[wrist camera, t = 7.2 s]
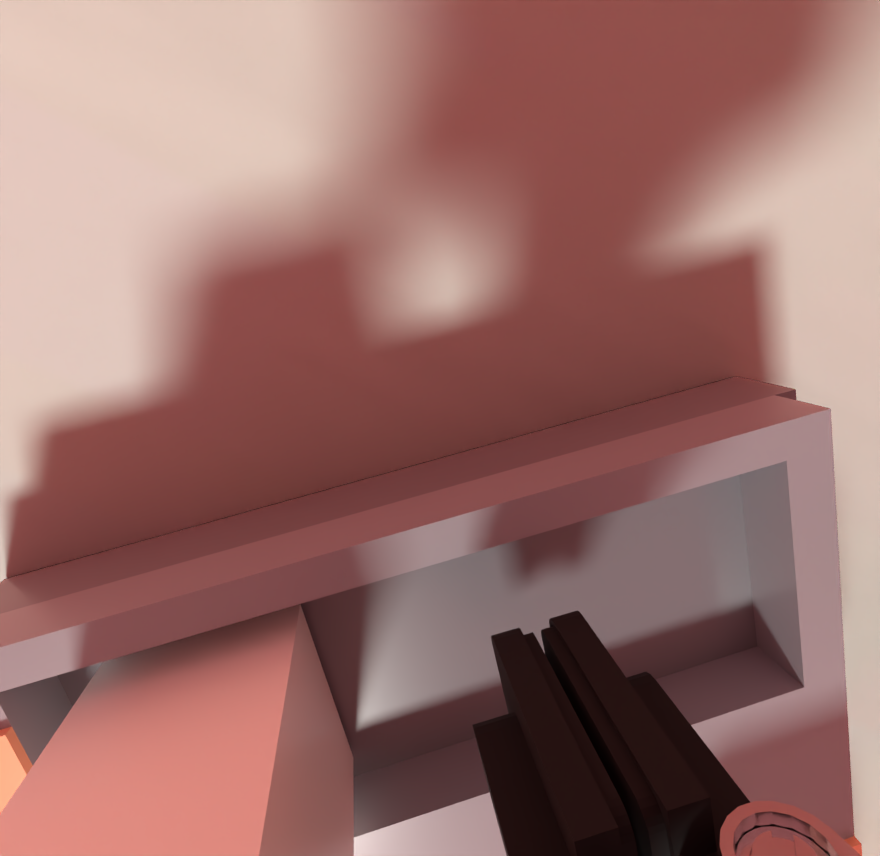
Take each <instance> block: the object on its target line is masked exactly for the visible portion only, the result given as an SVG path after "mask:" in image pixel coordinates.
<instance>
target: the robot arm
mask: <svg viewBox="0 0 880 856" xmlns="http://www.w3.org/2000/svg"><path fill="white" fill-rule="evenodd" d="M549 626H550V627H549V628H545V629H542V630H541V636H542V641H543V646H544V651H545V653H544V652H543V650H542V648H541V646H540V644H539V642H538V640H537V638H536V636H535V635H534V633H533V632H532V633H528V634H525V635H523V633H522V631H521V629H520V628H516V629H512V630H509V631H505V632H502V633H499V634H495V635H492V636H491V640H492V645H493V649H494V654H495V658H496V662H497V667H498V671H499V675H500V680H501V684H502V688H503V693H504V697H505V701H506V706H507V710H508V714H506V715H503V716H499V717H496V718H493V719H490V720H486V721H483V722H480V723H477V724H473V725H472V726H473V730H474V734H475V738H476V742H477V746H478V750H479V753H480V757H481V761H482V765H483V769H484V773H485V777H486V781H487V784H488V788H489V792H490V796H491V799H492V803H493V807H494V811H495V814H496V818H497V822H498V826H499V829H500V833H501V837H502V840H503V844H504V848H505V851H506V855H507V856H861V855H860V854H859V853H858V852H857V851H856V850H854V849H853V848H852V847H851V846H850V845H849V844H848V843H847V842H846V841H845V840H844V839H842V838H841V837H840V836H839V835H838V834H837V833H836V832H835V831H834V830H833V829H831V828H830V827H829V826H827V825H826V824H825V823H823V822H822V821H821V820H819V819H818V818H817V817H815V816H814V815H812V814H810V813H808V812H806V811H804V810H801V809H799V808H797V807H795V806H793V805H788V804H784V803H780V802H776V801H754V802H750V801H749V800H748V798H747V797H746V796H745V794H744V793H743V792H742V791H741V789H740V788H739V787H738V785H737V784H736V783H735V782H734V780H733V779H732V778H731V776H730V775H729V774H728V772H727V771H726V770H725V769H724V767H723V766H722V765H721V763H720V762H719V761H718V760H717V758H716V757H715V756H714V754H713V753H712V752H711V751H710V749H709V748H708V747H707V745H706V744H705V743H704V741H703V740H702V739H701V738H700V736H699V735H698V734H697V732H696V731H695V730H694V729H693V727H692V726H691V725H690V723H689V722H688V721H687V720H686V718H685V717H684V716H683V714H682V713H681V712H680V711H679V709H678V708H677V707H676V705H675V704H674V703H673V701H672V700H671V699H670V698H669V696H668V695H667V694H666V692H665V691H664V690H663V689H662V687H661V686H660V685H659V683H658V682H657V681H656V680H655V679H654V677H653V676H652V675H651V674H649V673H647V672H643V673H640V674H636V675H633V676H630V677H627V678H626V676H625V675H624V674H623V672H622V671H621V669H620V668H619V666H618V665H617V664H616V662H615V661H614V659H613V658H612V657H611V655H610V654H609V652H608V651H607V649H606V648H605V647H604V645H603V644H602V642H601V641H600V639H599V638H598V637H597V635H596V634H595V632H594V631H593V629H592V628H591V627H590V625H589V624H588V622H587V621H586V620H585V618H584V617H583V615H582V614H581V613H580V612H579V611H574V612H570V613H567V614H563V615H560V616H557V617H553V618H550V619H549Z"/></svg>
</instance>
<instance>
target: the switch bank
mask: <svg viewBox="0 0 880 856" xmlns="http://www.w3.org/2000/svg"><path fill="white" fill-rule="evenodd" d="M299 604H301V607H302V610H303V613H304V616H305V619H306V622H307V625H308V628H309V630H310V633H311V636H312V639H313V642H314V645H315V648H316V651H317V654H318V656H319V659H320V662H321V665H322V668H323V671H324V674H325V677H326V680H327V683H328V685H329V688H330V691H331V694H332V697H333V700H334V703H335V706H336V709H337V711H338V714H339V717H340V720H341V723H342V726H343V729H344V732H345V735H346V737H347V740H348V743H349V746H350V749H351V752H352V755H353V782H354V856H507V855H506V851H505V848H504V844H503V840H502V837H501V833H500V829H499V826H498V822H497V818H496V814H495V811H494V807H493V803H492V799H491V796H490V792H489V788H488V784H487V781H486V777H485V773H484V769H483V765H482V761H481V757H480V753H479V750H478V746H477V742H476V738H475V734H474V730H473V726H472V725H473V724H477V723H480V722H483V721H486V720H490V719H493V718H496V717H499V716H503V715H506V714H508V710H507V706H506V701H505V697H504V693H503V688H502V684H501V680H500V675H499V671H498V667H497V662H496V658H495V654H494V649H493V645H492V640H491V636H492V635H495V634H499V633H502V632H505V631H509V630H512V629H516V628H520V629H521V631H522V633H523V635H525V634H528V633H532V632H533V633H534V635H535V636H536V638H537V640H538V642H539V644H540V646H541V648H542V650H543V652H544V653H545V651H544V646H543V641H542V636H541V630H542V629H545V628H549V627H550V626H549V619H550V618H553V617H557V616H560V615H563V614H567V613H570V612H574V611H579V612H580V613H581V614H582V615H583V617H584V618H585V620H586V621H587V622H588V624H589V625H590V627H591V628H592V629H593V631H594V632H595V634H596V635H597V637H598V638H599V639H600V641H601V642H602V644H603V645H604V647H605V648H606V649H607V651H608V652H609V654H610V655H611V657H612V658H613V659H614V661H615V662H616V664H617V665H618V666H619V668H620V669H621V671H622V672H623V674H624V675H625V676H626V678H627V677H630V676H633V675H636V674H640V673H643V672H647V673H649V674H651V675H652V676H653V677H654V679H655V680H656V681H657V682H658V683H659V685H660V686H661V687H662V689H663V690H664V691H665V692H666V694H667V695H668V696H669V698H670V699H671V700H672V701H673V703H674V704H675V705H676V707H677V708H678V709H679V711H680V712H681V713H682V714H683V716H684V717H685V718H686V720H687V721H688V722H689V723H690V725H691V726H692V727H693V729H694V730H695V731H696V732H697V734H698V735H699V736H700V738H701V739H702V740H703V741H704V743H705V744H706V745H707V747H708V748H709V749H710V751H711V752H712V753H713V754H714V756H715V757H716V758H717V760H718V761H719V762H720V763H721V765H722V766H723V767H724V769H725V770H726V771H727V772H728V774H729V775H730V776H731V778H732V779H733V780H734V782H735V783H736V784H737V785H738V787H739V788H740V789H741V791H742V792H743V793H744V794H745V796H746V797H747V798H748V800H749V801H750V802H754V801H776V802H780V803H784V804H788V805H793V806H795V807H797V808H799V809H801V810H804V811H806V812H808V813H810V814H812V815H814V816H815V817H817V818H818V819H819V820H821V821H822V822H823V823H825V824H826V825H827V826H829V827H830V828H831V829H833V830H834V831H835V832H836V833H837V834H838V835H839V836H840V837H841V838H842V839H844V840H845V841H846V842H847V843H848V844H849V845H850V846H851V847H852V848H853V849H854V850H856V851H857V852H858V853H859V854H860V855H861V856H862V848H861V843H860V842H859V841H858V840H857V839H856V838H855V836H854V824H853V806H852V788H851V770H850V751H849V733H848V715H847V697H846V679H845V660H844V642H843V624H842V606H841V588H840V570H839V551H838V533H837V515H836V497H835V479H834V461H833V442H832V424H831V409H830V408H826V407H822V406H818V405H813V404H809V403H805V402H801V401H797V400H796V390H795V389H792V388H787V387H783V386H778V385H773V384H769V383H764V382H760V381H755V380H750V379H746V378H741V377H737V376H735V377H732V378H728V379H724V380H721V381H717V382H714V383H710V384H706V385H703V386H699V387H696V388H692V389H688V390H685V391H681V392H678V393H674V394H670V395H667V396H663V397H660V398H656V399H652V400H649V401H645V402H642V403H638V404H634V405H631V406H627V407H624V408H620V409H616V410H613V411H609V412H605V413H602V414H598V415H595V416H591V417H587V418H584V419H580V420H577V421H573V422H569V423H566V424H562V425H559V426H555V427H551V428H548V429H544V430H541V431H537V432H533V433H530V434H526V435H523V436H519V437H515V438H512V439H508V440H505V441H501V442H497V443H494V444H490V445H487V446H483V447H479V448H476V449H472V450H469V451H465V452H461V453H458V454H454V455H450V456H447V457H443V458H440V459H436V460H432V461H429V462H425V463H422V464H418V465H414V466H411V467H407V468H404V469H400V470H396V471H393V472H389V473H386V474H382V475H378V476H375V477H371V478H368V479H364V480H360V481H357V482H353V483H350V484H346V485H342V486H339V487H335V488H332V489H328V490H324V491H321V492H317V493H313V494H310V495H306V496H303V497H299V498H295V499H292V500H288V501H285V502H281V503H277V504H274V505H270V506H267V507H263V508H259V509H256V510H252V511H249V512H245V513H241V514H238V515H234V516H231V517H227V518H223V519H220V520H216V521H213V522H209V523H205V524H202V525H198V526H195V527H191V528H187V529H184V530H180V531H177V532H173V533H169V534H166V535H162V536H158V537H155V538H151V539H148V540H144V541H140V542H137V543H133V544H130V545H126V546H122V547H119V548H115V549H112V550H108V551H104V552H101V553H97V554H94V555H90V556H86V557H83V558H79V559H76V560H72V561H68V562H65V563H61V564H58V565H54V566H50V567H47V568H43V569H40V570H36V571H32V572H29V573H25V574H22V575H18V576H14V577H11V578H7V579H4V580H3V581H2V582H1V583H0V814H1V812H2V811H3V809H4V808H5V806H6V805H7V803H8V802H9V800H10V799H11V797H12V796H13V794H14V793H15V791H16V790H17V788H18V787H19V786H20V784H21V783H22V781H23V780H24V778H25V777H26V775H27V774H28V772H29V771H30V769H31V768H32V766H33V765H34V763H35V762H36V760H37V759H38V757H39V756H40V754H41V753H42V751H43V750H44V748H45V747H46V745H47V744H48V743H49V741H50V740H51V738H52V737H53V735H54V734H55V732H56V731H57V729H58V728H59V726H60V725H61V723H62V722H63V720H64V719H65V717H66V716H67V714H68V713H69V711H70V710H71V708H72V707H73V705H74V704H75V702H76V701H77V700H78V698H79V697H80V695H81V694H82V692H83V691H84V689H85V688H86V686H87V685H88V683H89V682H90V680H91V679H92V677H93V676H94V674H95V673H96V671H97V670H98V668H99V667H100V665H101V664H102V662H105V661H109V660H112V659H116V658H119V657H122V656H126V655H129V654H133V653H136V652H139V651H143V650H146V649H150V648H153V647H156V646H160V645H163V644H167V643H170V642H173V641H177V640H180V639H184V638H187V637H190V636H194V635H197V634H201V633H204V632H207V631H211V630H214V629H218V628H221V627H224V626H228V625H231V624H235V623H238V622H241V621H245V620H248V619H251V618H255V617H258V616H262V615H265V614H268V613H272V612H275V611H279V610H282V609H285V608H289V607H292V606H296V605H299Z"/></svg>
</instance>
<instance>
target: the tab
mask: <svg viewBox="0 0 880 856" xmlns="http://www.w3.org/2000/svg"><path fill="white" fill-rule="evenodd" d="M0 856H354V782H353V755H352V752H351V749H350V746H349V743H348V740H347V737H346V735H345V732H344V729H343V726H342V723H341V720H340V717H339V714H338V711H337V709H336V706H335V703H334V700H333V697H332V694H331V691H330V688H329V685H328V683H327V680H326V677H325V674H324V671H323V668H322V665H321V662H320V659H319V656H318V654H317V651H316V648H315V645H314V642H313V639H312V636H311V633H310V630H309V628H308V625H307V622H306V619H305V616H304V613H303V610H302V607H301V604H299V605H296V606H292V607H289V608H285V609H282V610H279V611H275V612H272V613H268V614H265V615H262V616H258V617H255V618H251V619H248V620H245V621H241V622H238V623H235V624H231V625H228V626H224V627H221V628H218V629H214V630H211V631H207V632H204V633H201V634H197V635H194V636H190V637H187V638H184V639H180V640H177V641H173V642H170V643H167V644H163V645H160V646H156V647H153V648H150V649H146V650H143V651H139V652H136V653H133V654H129V655H126V656H122V657H119V658H116V659H112V660H109V661H105V662H102V664H101V665H100V667H99V668H98V670H97V671H96V673H95V674H94V676H93V677H92V679H91V680H90V682H89V683H88V685H87V686H86V688H85V689H84V691H83V692H82V694H81V695H80V697H79V698H78V700H77V701H76V702H75V704H74V705H73V707H72V708H71V710H70V711H69V713H68V714H67V716H66V717H65V719H64V720H63V722H62V723H61V725H60V726H59V728H58V729H57V731H56V732H55V734H54V735H53V737H52V738H51V740H50V741H49V743H48V744H47V745H46V747H45V748H44V750H43V751H42V753H41V754H40V756H39V757H38V759H37V760H36V762H35V763H34V765H33V766H32V768H31V769H30V771H29V772H28V774H27V775H26V777H25V778H24V780H23V781H22V783H21V784H20V786H19V787H18V788H17V790H16V791H15V793H14V794H13V796H12V797H11V799H10V800H9V802H8V803H7V805H6V806H5V808H4V809H3V811H2V812H1V814H0Z"/></svg>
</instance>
